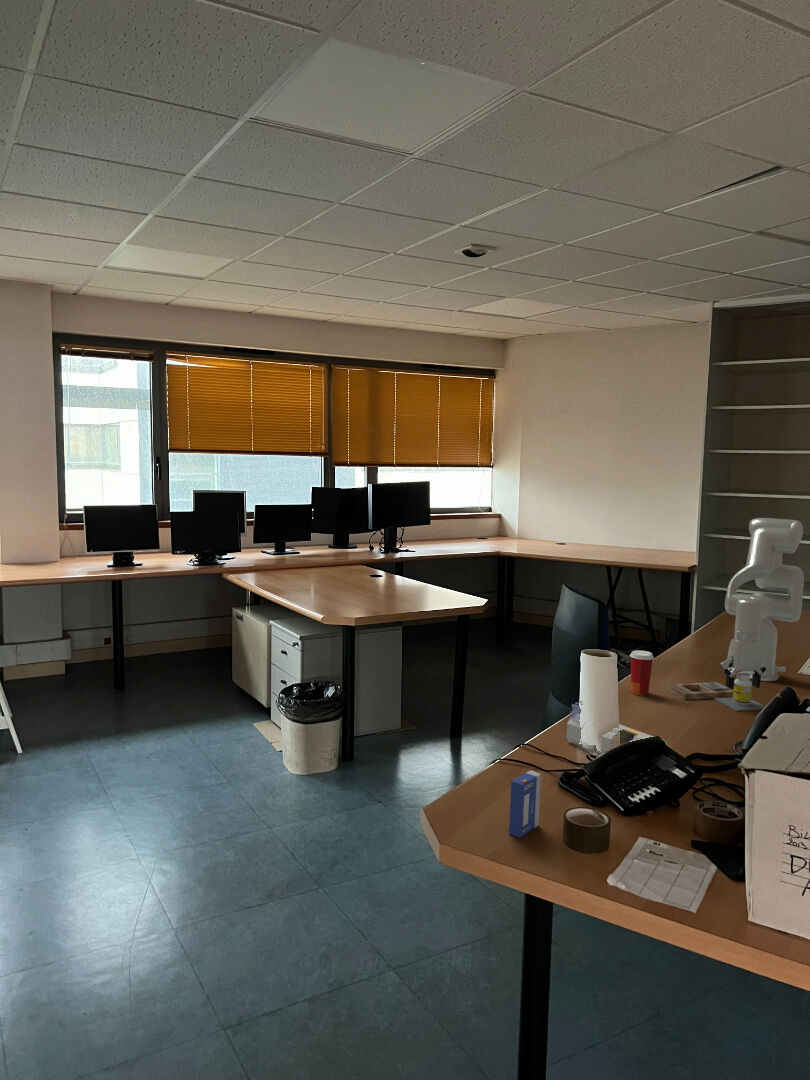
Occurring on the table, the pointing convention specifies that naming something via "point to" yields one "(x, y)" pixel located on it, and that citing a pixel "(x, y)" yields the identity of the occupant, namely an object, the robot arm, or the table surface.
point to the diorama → (625, 735)
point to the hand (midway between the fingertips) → (742, 687)
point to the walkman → (524, 803)
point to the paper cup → (640, 672)
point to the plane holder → (700, 690)
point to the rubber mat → (737, 707)
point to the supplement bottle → (742, 689)
